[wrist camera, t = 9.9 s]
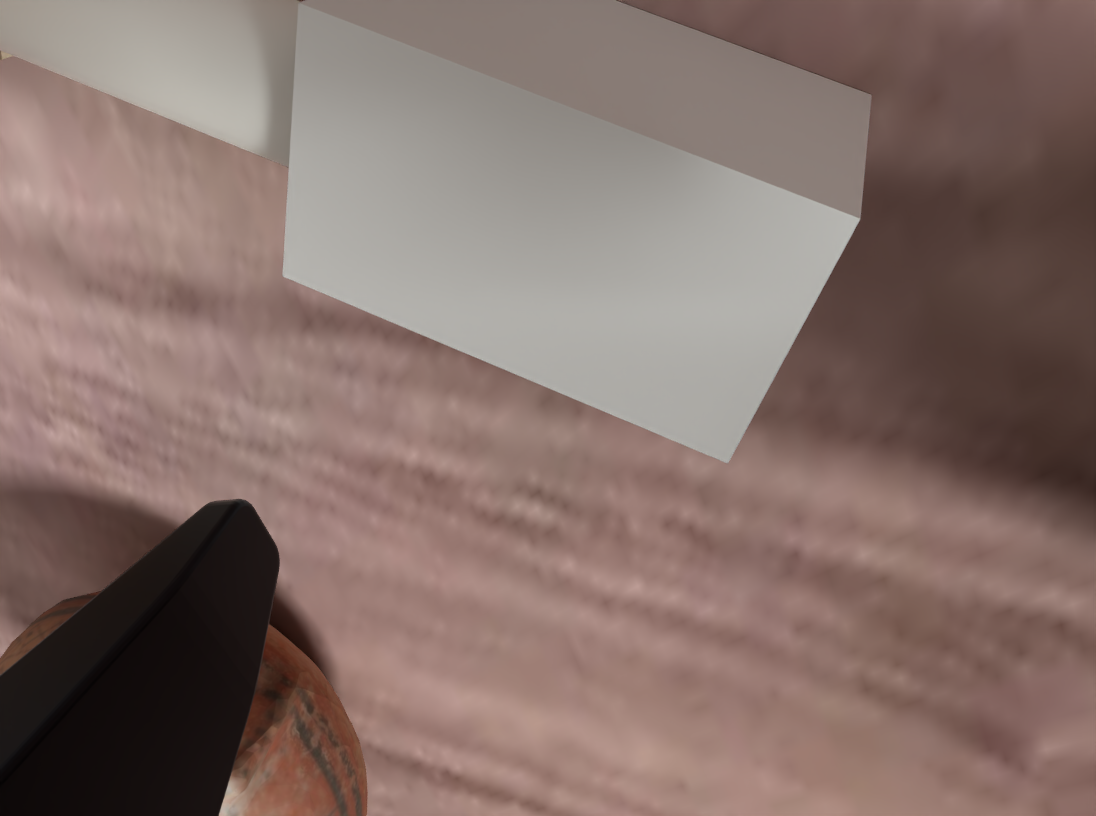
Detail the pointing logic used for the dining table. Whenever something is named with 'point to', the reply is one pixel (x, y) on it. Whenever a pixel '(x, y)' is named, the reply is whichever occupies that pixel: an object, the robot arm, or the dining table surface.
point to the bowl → (271, 733)
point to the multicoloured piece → (173, 59)
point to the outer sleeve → (573, 196)
